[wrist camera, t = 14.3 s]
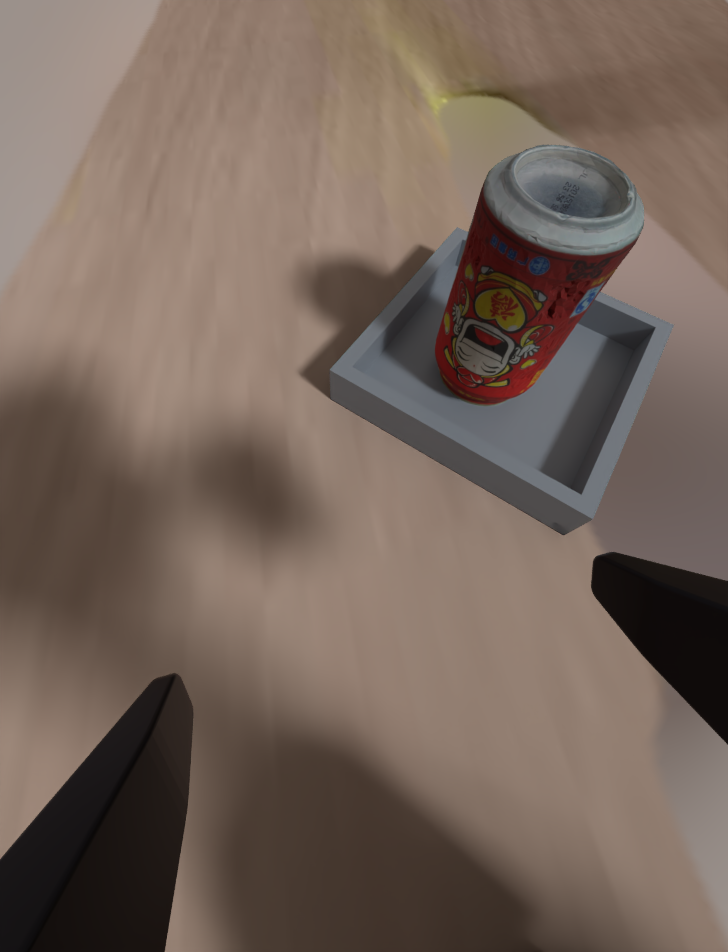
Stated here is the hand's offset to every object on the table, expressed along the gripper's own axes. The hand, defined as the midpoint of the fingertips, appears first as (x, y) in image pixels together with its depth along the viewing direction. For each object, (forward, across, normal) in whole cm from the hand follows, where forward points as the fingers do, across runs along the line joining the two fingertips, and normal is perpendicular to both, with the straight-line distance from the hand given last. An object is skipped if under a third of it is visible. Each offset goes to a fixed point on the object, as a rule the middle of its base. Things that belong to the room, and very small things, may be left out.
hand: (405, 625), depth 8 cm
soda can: (+20, -12, -1) cm, 23 cm away
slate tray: (+20, -14, -1) cm, 24 cm away
